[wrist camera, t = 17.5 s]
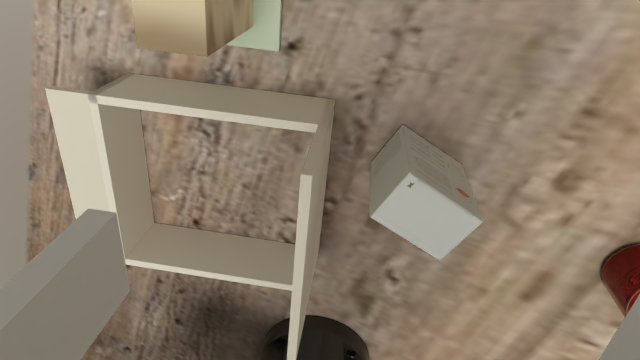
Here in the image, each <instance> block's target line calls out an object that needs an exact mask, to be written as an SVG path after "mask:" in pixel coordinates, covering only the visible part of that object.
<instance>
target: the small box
mask: <svg viewBox="0 0 640 360" xmlns="http://www.w3.org/2000/svg"><path fill="white" fill-rule="evenodd" d="M370 218H372V219H373V220H375V221H376V222H378V223H380V224H381V225H383V226H384V227H386V228H388V229H389V230H391V231H392V232H394V233H396V234H397V235H399V236H401V237H402V238H404V239H405V240H407V241H409V242H410V243H412V244H413V245H415V246H417V247H418V248H420V249H421V250H423V251H425V252H426V253H428V254H429V255H431V256H433V257H434V258H436V259H437V260H441V259H442V258H443V257H444V256H446V255H447V254H448V253H449V252H450V251H451V250H452V249H453V248H454V247H456V246H457V245H458V244H459V243H460V242H461V241H462V240H463V239H465V238H466V237H467V236H468V235H469V234H470V233H471V232H472V231H474V230H475V229H476V228H477V227H478V226H479V225H480V224H482V223H483V218H482V215H481V213H480V210H479V207H478V205H477V202H476V199H475V197H474V194H473V192H472V189H471V186H470V184H469V181H468V178H467V176H466V173H465V170H464V168H463V165H462V164H460V163H459V162H457V161H456V160H454V159H453V158H451V157H450V156H448V155H447V154H445V153H444V152H442V151H441V150H440V149H438V148H437V147H435V146H434V145H432V144H431V143H429V142H428V141H426V140H425V139H424V138H422V137H421V136H419V135H417V134H416V133H415V132H413V131H412V130H410V129H409V128H407V127H406V126H405V125H402V126H401V127H400V128H399V130H398V131H397V132H396V133H395V134H394V136H393V137H392V138H391V139H390V140H389V141H388V143H387V144H386V145H385V146H384V147H383V149H382V150H381V151H380V152H379V153H378V155H377V156H376V157H375V158H374V159H373V161H372V162H371V172H370Z"/></svg>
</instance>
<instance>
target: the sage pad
mask: <svg viewBox="0 0 640 360" xmlns="http://www.w3.org/2000/svg"><path fill="white" fill-rule="evenodd" d="M281 18H282V0H253V27H252V28H250V29H249V30H247V31H246V32H244V33H242V34H241V35H239V36H238V37H236V38H235V39H233V40H232V41H230V42H229V43H227V44H226V45H230V46H239V47H247V48H255V49H263V50H272V51H280V42H281Z"/></svg>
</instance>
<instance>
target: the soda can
mask: <svg viewBox="0 0 640 360" xmlns="http://www.w3.org/2000/svg"><path fill="white" fill-rule="evenodd" d="M601 277H602V281H603V283H604V285H605V287H606V288H607V290H608V292H609V293H610V295H611V296H612V298H613V299H614V301H615V303H616V304H617V306H618V307H619V309H620V310H621V312H622V313H623V315H624V317H626V315H627V314H628V312H629V310H630V309H631V307H632V306H633V304H634V302H635V301H636V299H637V298H638V296H639V294H640V244H637V245H632V246H628V247H625V248H623V249H621V250H619V251H617V252H616V253H614V254H613V255H612V256H611V257H609V259H608V260H607V261H606V263H605V264H604V266H603V268H602V273H601Z"/></svg>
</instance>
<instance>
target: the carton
mask: <svg viewBox="0 0 640 360" xmlns="http://www.w3.org/2000/svg"><path fill="white" fill-rule="evenodd" d="M45 90H46V94H47V98H48V103H49V107H50V111H51V115H52V119H53V124H54V128H55V132H56V136H57V141H58V145H59V149H60V153H61V158H62V162H63V166H64V170H65V175H66V179H67V183H68V187H69V191H70V196H71V200H72V204H73V208H74V213H75V217H76V219H77V218H78V217H79V216H81V215H82V214H83V213H84V212H85V211H86V210H87V209H88V208H89V209H95V210H102V211H109V212H115V213H117V219H118V225H119V230H120V236H121V242H122V247H123V253H124V258H125V264H127V265H133V266H139V267H146V268H152V269H158V270H164V271H171V272H177V273H183V274H189V275H196V276H202V277H208V278H214V279H221V280H227V281H233V282H239V283H246V284H252V285H258V286H264V287H271V288H277V289H283V290H289V291H292V297H291V310H290V324H289V337H288V350H287V360H296V359H297V354H298V349H299V345H300V340H301V335H302V330H303V325H304V321H305V316H306V311H307V306H308V301H309V297H310V292H311V287H312V282H313V277H314V273H315V268H316V263H317V258H318V253H319V245H320V235H321V226H322V217H323V208H324V199H325V190H326V181H327V172H328V163H329V154H330V145H331V136H332V127H333V118H334V109H335V99H327V98H319V97H311V96H303V95H295V94H288V93H280V92H272V91H264V90H256V89H249V88H241V87H233V86H225V85H217V84H210V83H202V82H194V81H186V80H178V79H170V78H163V77H155V76H147V75H139V74H131V73H127V74H125V75H123V76H122V77H120V78H118V79H116V80H114V81H112V82H110V83H108V84H106V85H104V86H102V87H100V88H98V89H96V90H95V91H86V90H79V89H71V88H64V87H56V86H50V87H47V88H45ZM140 110H148V111H155V112H163V113H170V114H178V115H185V116H193V117H200V118H207V119H215V120H222V121H230V122H237V123H245V124H252V125H260V126H267V127H275V128H282V129H290V130H297V131H305V132H312V133H315V135H314V138H313V141H312V144H311V147H310V150H309V152H308V155H307V158H306V161H305V164H304V166H303V169H302V172H301V178H300V191H299V204H298V218H297V231H296V244H290V243H284V242H277V241H271V240H264V239H258V238H251V237H244V236H238V235H231V234H225V233H218V232H212V231H205V230H199V229H192V228H185V227H179V226H172V225H166V224H159V223H154V216H153V208H152V200H151V192H150V184H149V176H148V168H147V161H146V153H145V145H144V137H143V129H142V121H141V113H140Z"/></svg>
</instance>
